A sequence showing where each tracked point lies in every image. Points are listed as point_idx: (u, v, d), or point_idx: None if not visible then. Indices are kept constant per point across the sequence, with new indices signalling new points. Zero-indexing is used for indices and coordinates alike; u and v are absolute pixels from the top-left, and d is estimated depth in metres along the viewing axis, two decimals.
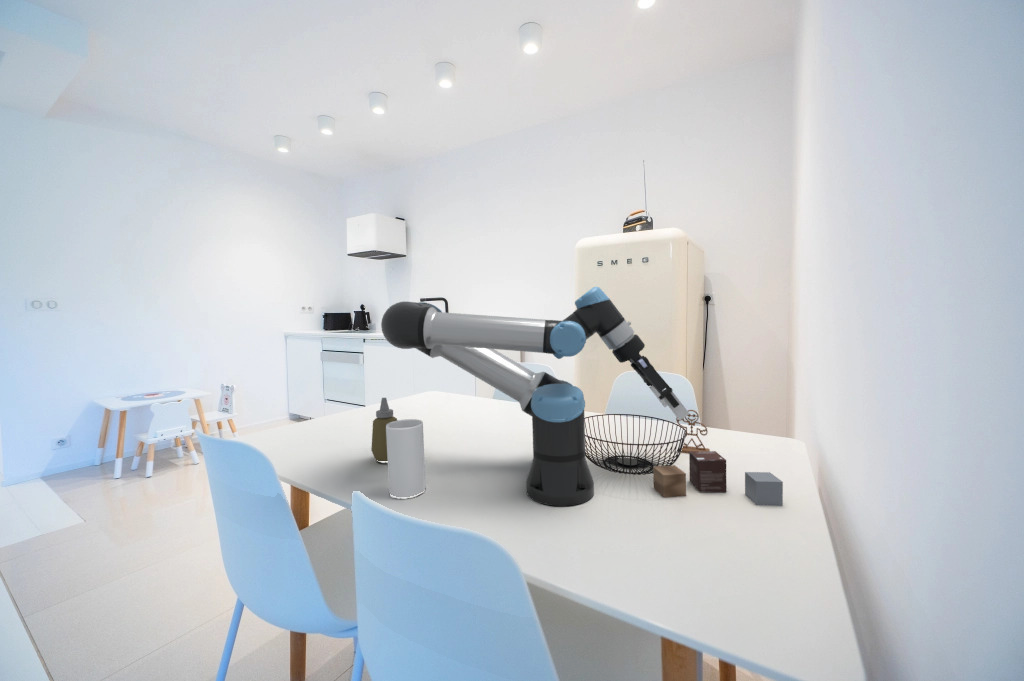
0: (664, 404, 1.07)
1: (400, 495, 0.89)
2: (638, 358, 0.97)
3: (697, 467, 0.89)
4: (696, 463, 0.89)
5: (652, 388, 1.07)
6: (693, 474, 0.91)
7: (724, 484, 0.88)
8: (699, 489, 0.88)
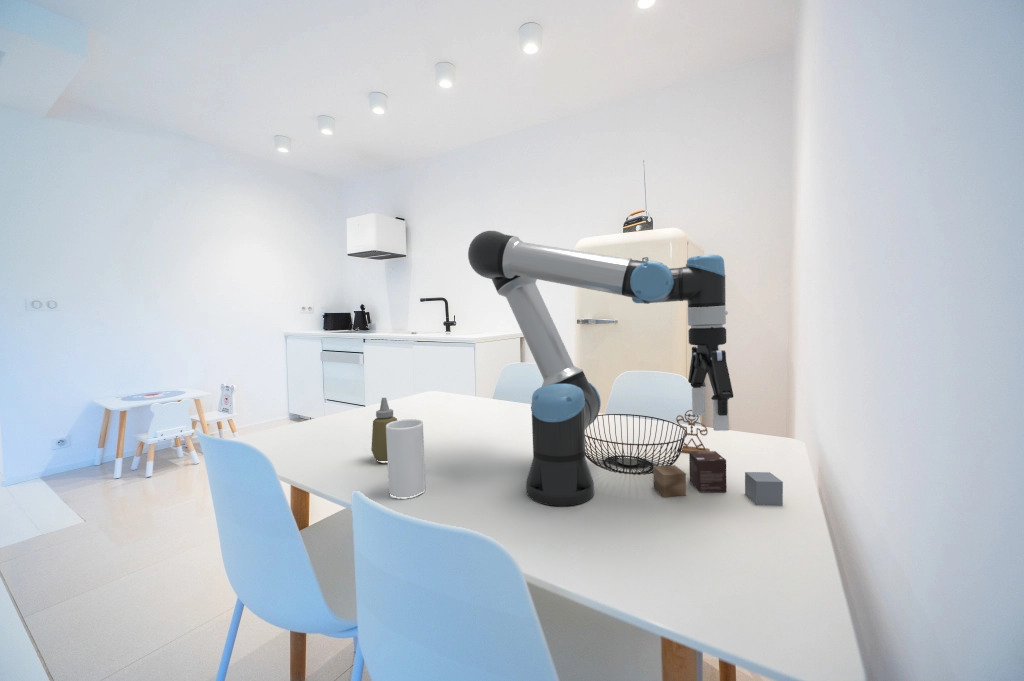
0: (695, 412, 0.97)
1: (400, 495, 0.89)
2: (714, 349, 0.86)
3: (697, 467, 0.89)
4: (696, 463, 0.89)
5: (694, 390, 0.96)
6: (693, 474, 0.91)
7: (724, 484, 0.88)
8: (699, 489, 0.88)
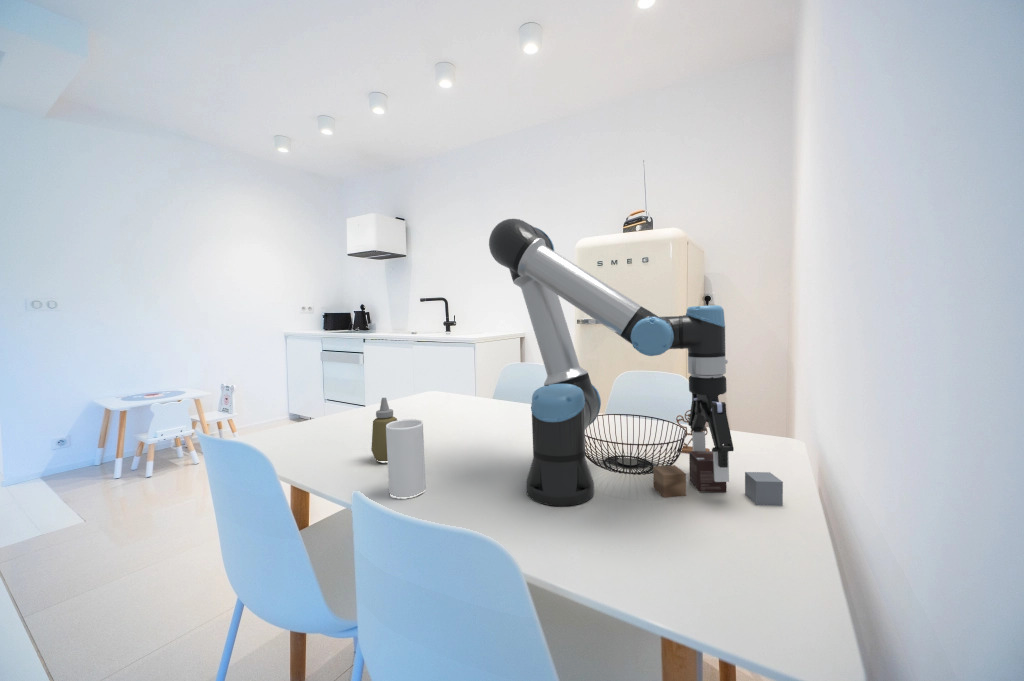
0: None
1: (400, 495, 0.89)
2: (714, 399, 0.86)
3: (697, 467, 0.89)
4: (696, 463, 0.89)
5: (695, 434, 0.97)
6: (693, 474, 0.91)
7: (724, 484, 0.88)
8: (699, 489, 0.88)
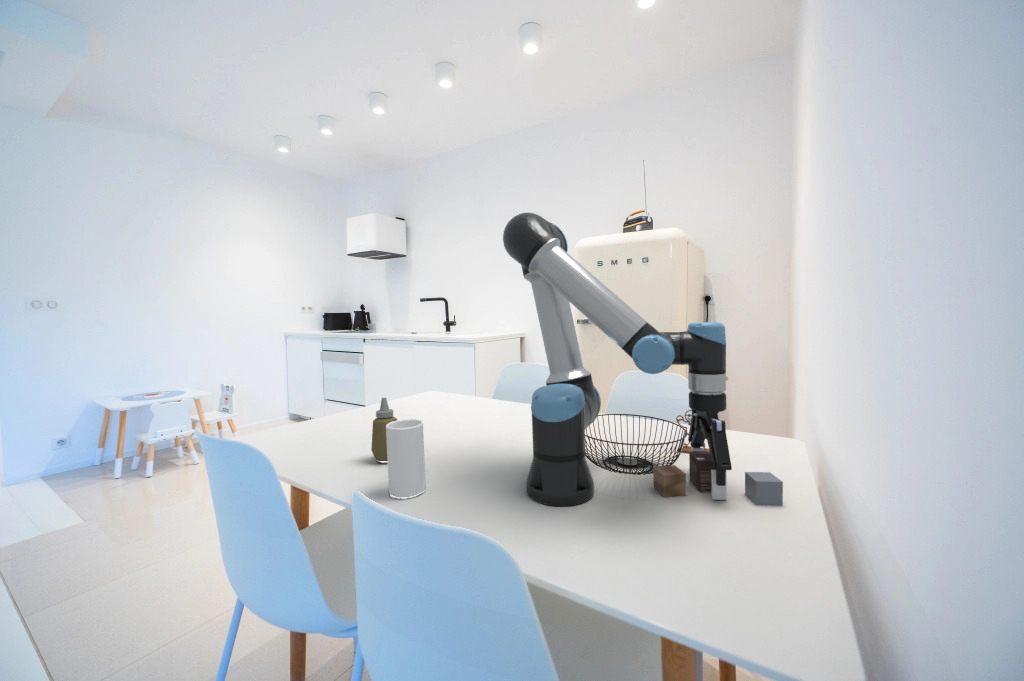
0: None
1: (400, 495, 0.89)
2: (714, 416, 0.86)
3: (697, 467, 0.89)
4: (696, 463, 0.89)
5: None
6: (693, 474, 0.91)
7: None
8: (699, 489, 0.88)
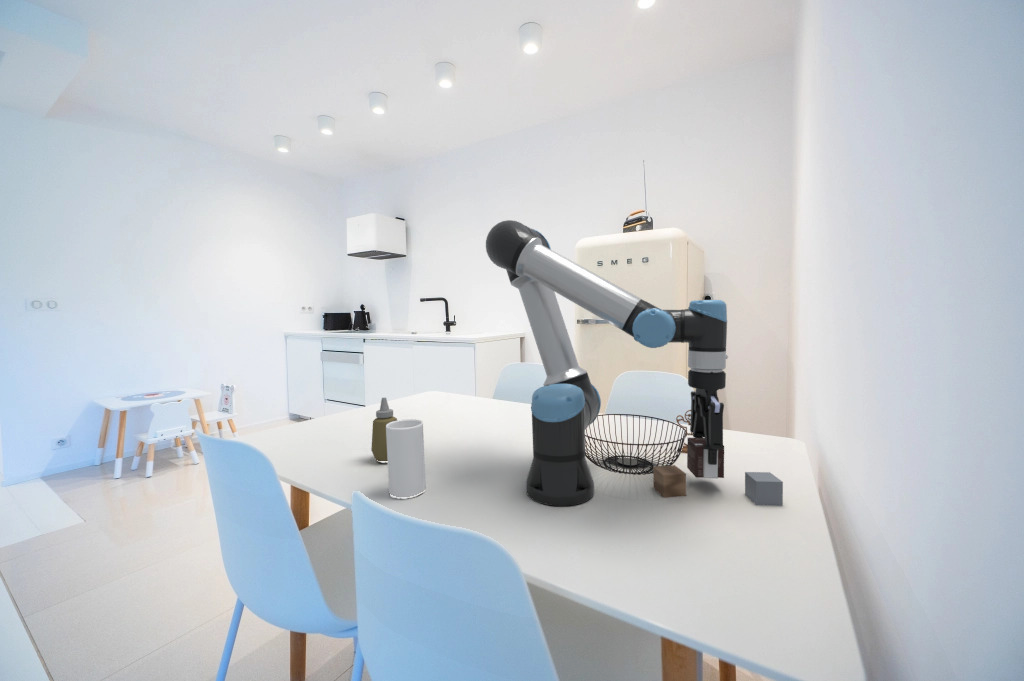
0: None
1: (400, 495, 0.89)
2: (713, 394, 0.86)
3: (694, 453, 0.89)
4: (693, 449, 0.89)
5: None
6: (691, 460, 0.91)
7: (722, 470, 0.88)
8: (696, 475, 0.89)
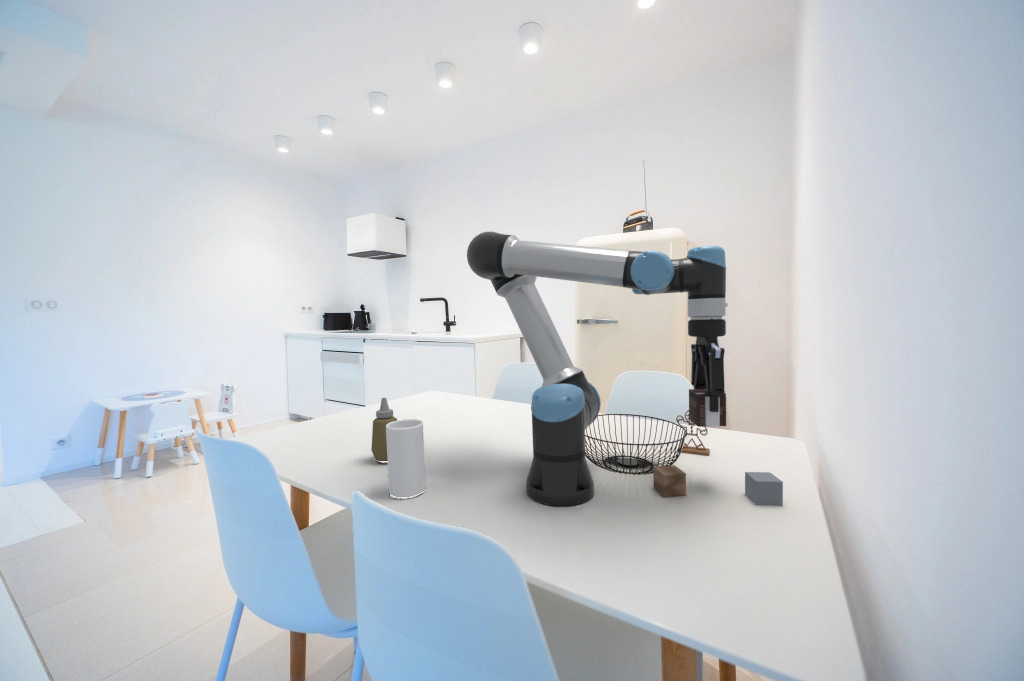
0: None
1: (400, 495, 0.89)
2: (713, 341, 0.86)
3: (696, 402, 0.88)
4: (695, 398, 0.89)
5: None
6: (693, 411, 0.90)
7: (724, 418, 0.87)
8: (698, 424, 0.88)
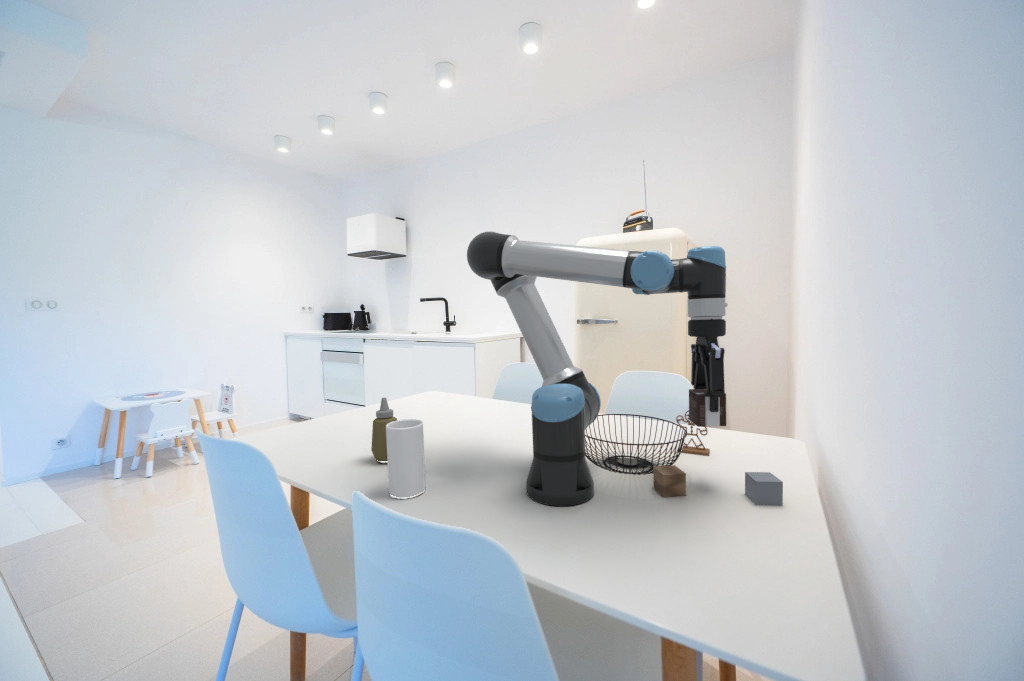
0: None
1: (400, 495, 0.89)
2: (713, 341, 0.86)
3: (696, 402, 0.88)
4: (695, 398, 0.89)
5: None
6: (693, 411, 0.90)
7: (724, 418, 0.87)
8: (698, 424, 0.88)
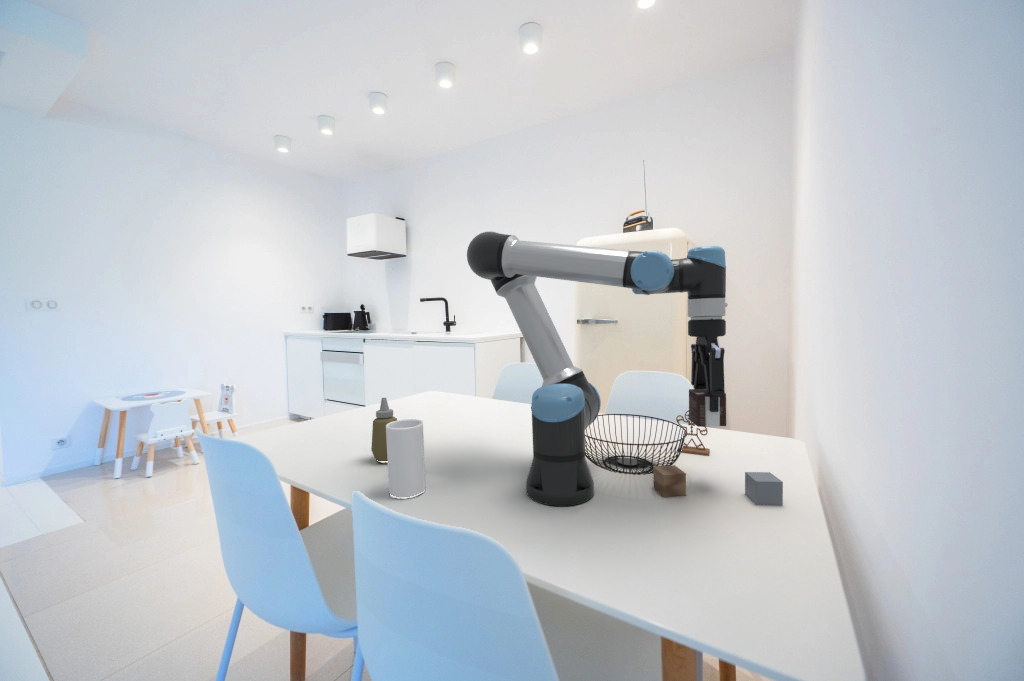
0: None
1: (400, 495, 0.89)
2: (713, 341, 0.86)
3: (696, 402, 0.88)
4: (695, 398, 0.89)
5: None
6: (693, 411, 0.90)
7: (724, 418, 0.87)
8: (698, 424, 0.88)
